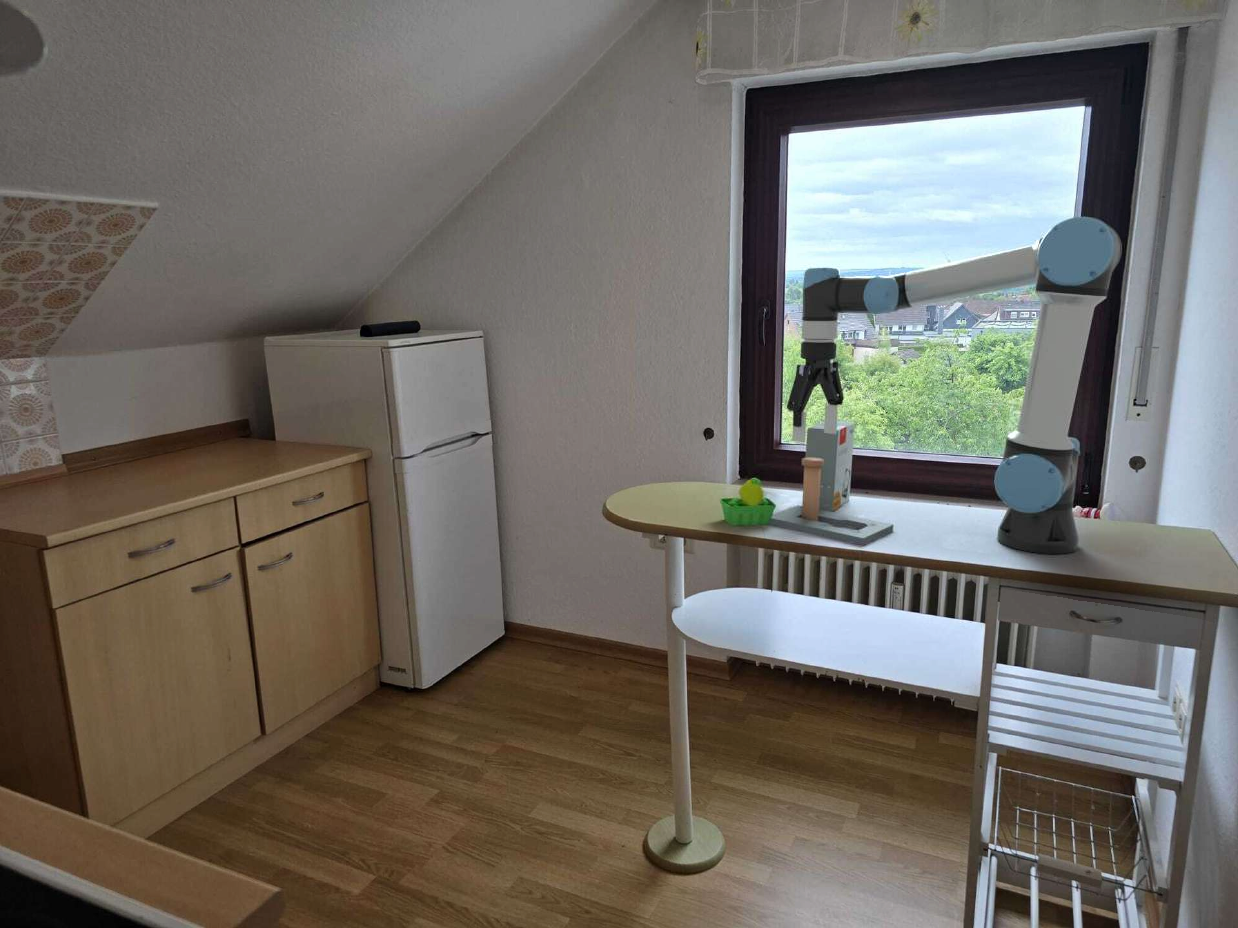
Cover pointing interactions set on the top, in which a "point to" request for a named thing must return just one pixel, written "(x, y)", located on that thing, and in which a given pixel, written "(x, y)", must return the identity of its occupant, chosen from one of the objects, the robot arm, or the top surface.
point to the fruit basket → (748, 506)
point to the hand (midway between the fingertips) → (814, 437)
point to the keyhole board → (823, 526)
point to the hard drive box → (832, 462)
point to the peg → (811, 487)
